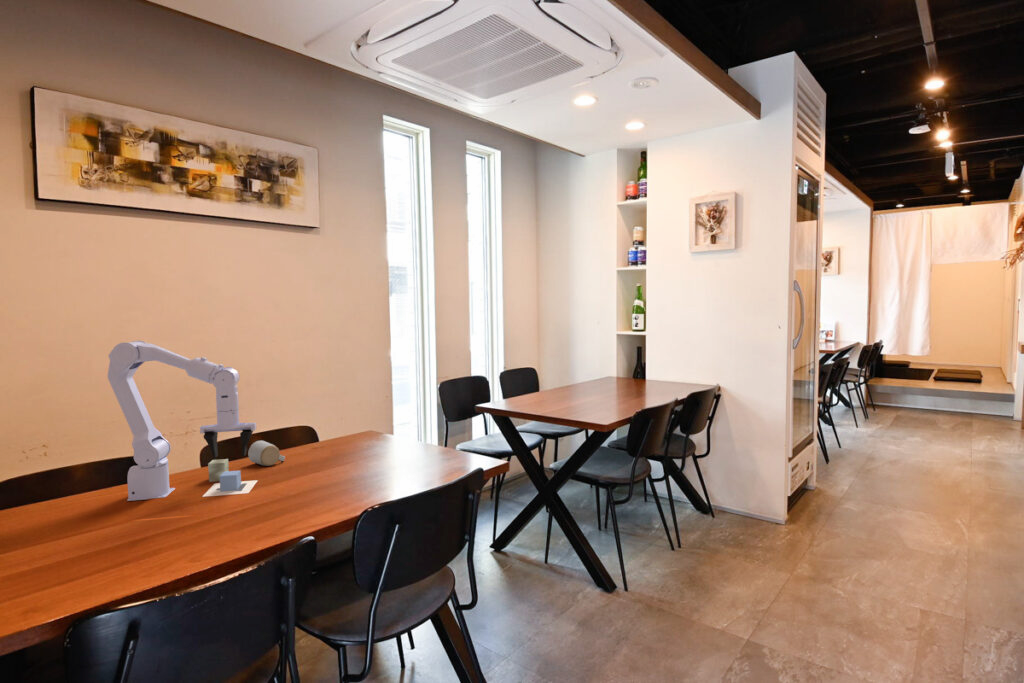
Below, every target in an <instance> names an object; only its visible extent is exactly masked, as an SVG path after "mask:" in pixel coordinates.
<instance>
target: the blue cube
mask: <svg viewBox="0 0 1024 683" xmlns="http://www.w3.org/2000/svg"><path fill="white" fill-rule="evenodd" d="M241 471H242V470H230V471H226V472H223V473H222V474H221V475H220V481H219V483H220V492H221V491H234V490H238V489H239V487H240V486H241V481H242V476H241V475H242V474H241Z"/></svg>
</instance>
